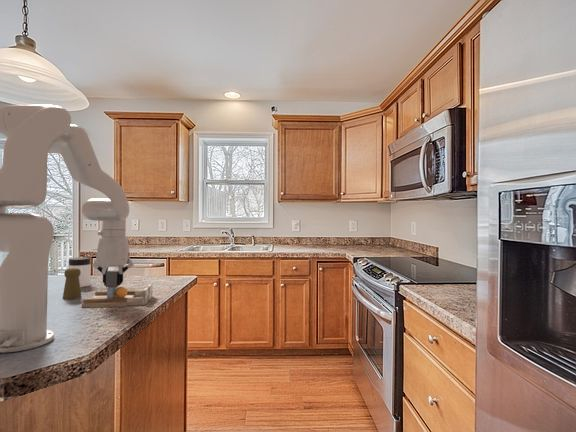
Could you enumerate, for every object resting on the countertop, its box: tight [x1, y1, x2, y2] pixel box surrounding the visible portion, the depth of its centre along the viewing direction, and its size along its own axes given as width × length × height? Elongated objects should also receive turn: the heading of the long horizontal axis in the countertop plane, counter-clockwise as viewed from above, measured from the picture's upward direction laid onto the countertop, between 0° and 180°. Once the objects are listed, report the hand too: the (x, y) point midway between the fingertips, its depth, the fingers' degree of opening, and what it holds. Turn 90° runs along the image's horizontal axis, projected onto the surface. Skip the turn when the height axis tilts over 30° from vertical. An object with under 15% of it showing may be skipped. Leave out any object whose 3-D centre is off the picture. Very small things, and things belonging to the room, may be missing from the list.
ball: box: [115, 286, 129, 298], centre depth 122 cm, size 4×4×4 cm
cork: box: [62, 268, 82, 300], centre depth 126 cm, size 6×6×11 cm
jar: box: [67, 256, 92, 288], centre depth 146 cm, size 9×8×12 cm
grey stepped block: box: [105, 269, 120, 298], centre depth 121 cm, size 7×4×9 cm, turn 11°
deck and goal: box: [81, 283, 153, 308], centre depth 122 cm, size 14×20×5 cm
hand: (113, 284), depth 121 cm, fingers closed on grey stepped block, 3 cm apart
